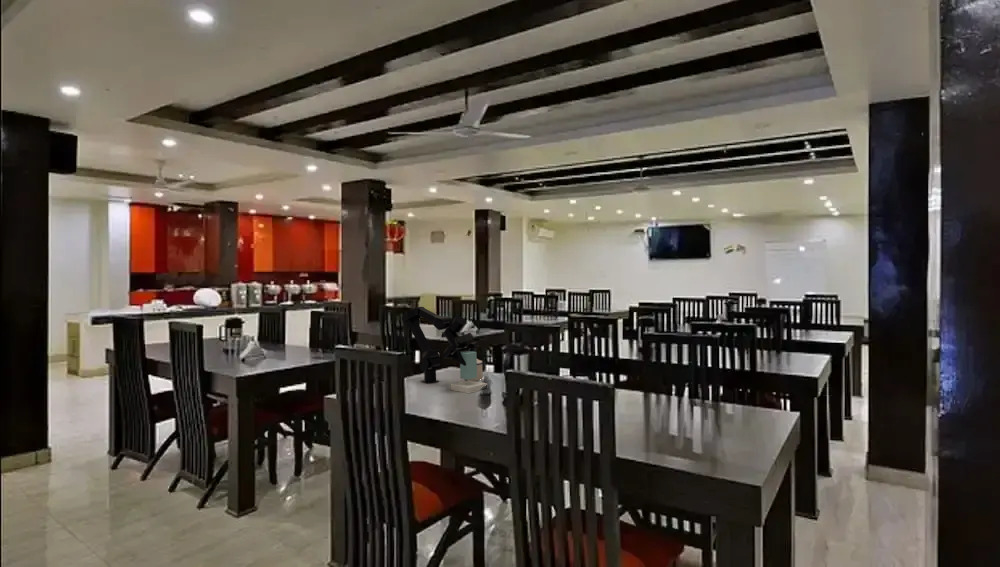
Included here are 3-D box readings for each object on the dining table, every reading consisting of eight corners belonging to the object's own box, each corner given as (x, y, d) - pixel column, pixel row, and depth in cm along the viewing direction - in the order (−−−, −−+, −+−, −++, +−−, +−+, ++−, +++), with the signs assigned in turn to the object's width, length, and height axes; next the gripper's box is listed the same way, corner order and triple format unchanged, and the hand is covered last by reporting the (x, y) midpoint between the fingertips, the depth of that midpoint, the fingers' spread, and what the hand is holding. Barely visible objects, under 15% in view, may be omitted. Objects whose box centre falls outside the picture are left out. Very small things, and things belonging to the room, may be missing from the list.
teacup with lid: (486, 378, 301) (486, 356, 301) (476, 382, 294) (475, 358, 293) (467, 376, 308) (467, 354, 307) (456, 379, 300) (456, 357, 300)
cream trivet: (450, 389, 278) (450, 384, 278) (469, 385, 287) (469, 380, 286) (468, 393, 270) (468, 387, 270) (487, 388, 278) (487, 383, 278)
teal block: (460, 378, 277) (459, 352, 277) (469, 376, 282) (469, 351, 281) (467, 379, 274) (467, 353, 273) (476, 377, 278) (476, 352, 278)
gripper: (447, 329, 273) (464, 356, 266) (475, 325, 286) (492, 350, 279) (436, 345, 278) (452, 371, 271) (464, 340, 292) (481, 365, 285)
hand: (470, 364), depth 277 cm, fingers closed on teal block, 6 cm apart
